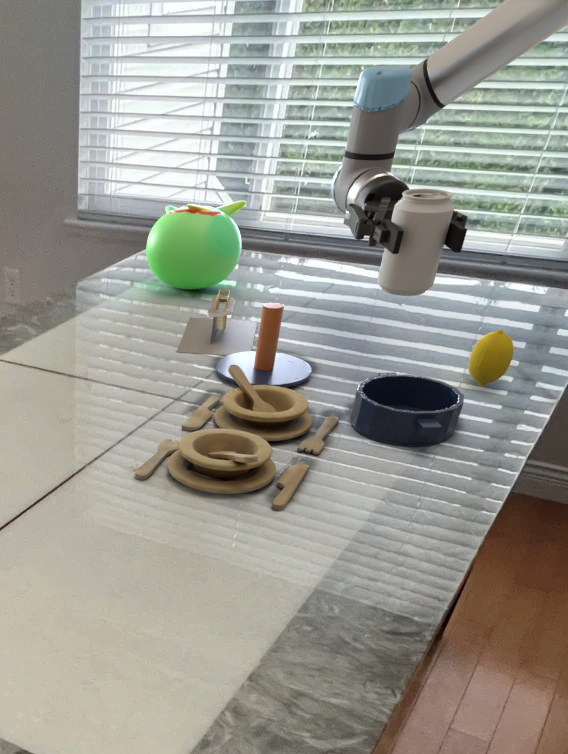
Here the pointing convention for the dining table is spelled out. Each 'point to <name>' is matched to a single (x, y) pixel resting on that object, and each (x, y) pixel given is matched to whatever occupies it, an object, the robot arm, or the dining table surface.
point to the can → (417, 242)
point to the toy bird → (194, 245)
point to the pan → (406, 409)
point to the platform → (218, 331)
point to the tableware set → (241, 441)
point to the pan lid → (267, 356)
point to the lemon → (491, 357)
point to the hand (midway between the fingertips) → (429, 241)
